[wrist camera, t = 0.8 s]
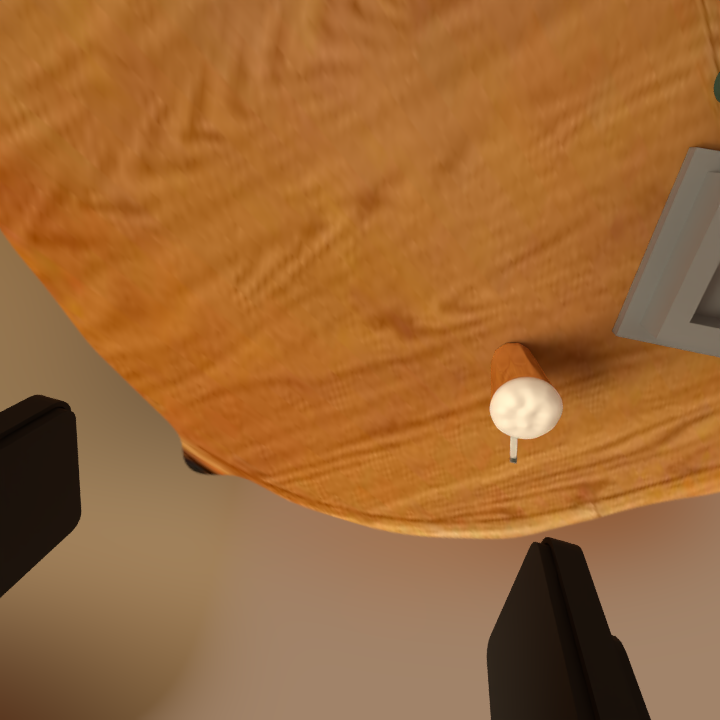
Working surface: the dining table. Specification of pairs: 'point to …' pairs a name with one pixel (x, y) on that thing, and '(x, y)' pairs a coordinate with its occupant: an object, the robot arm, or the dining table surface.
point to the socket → (681, 266)
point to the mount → (717, 87)
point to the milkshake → (521, 396)
